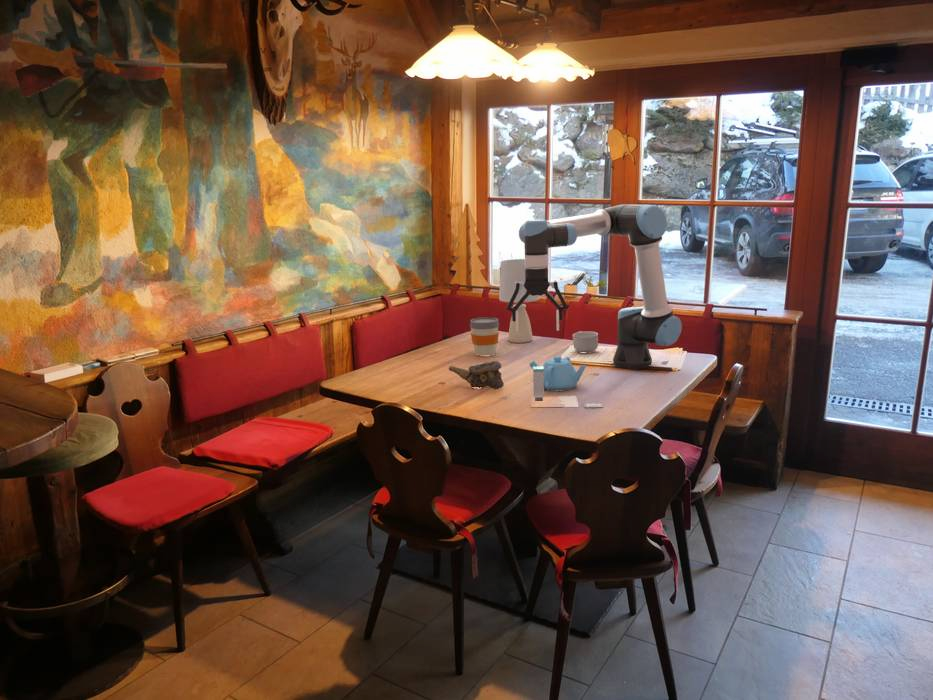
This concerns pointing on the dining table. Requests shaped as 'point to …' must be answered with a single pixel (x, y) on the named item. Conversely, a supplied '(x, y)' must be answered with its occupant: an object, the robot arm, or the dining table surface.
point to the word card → (593, 405)
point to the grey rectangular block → (538, 383)
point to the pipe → (481, 375)
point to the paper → (569, 401)
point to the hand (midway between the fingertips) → (537, 330)
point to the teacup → (585, 341)
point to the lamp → (508, 278)
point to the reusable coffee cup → (484, 335)
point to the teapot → (560, 373)
